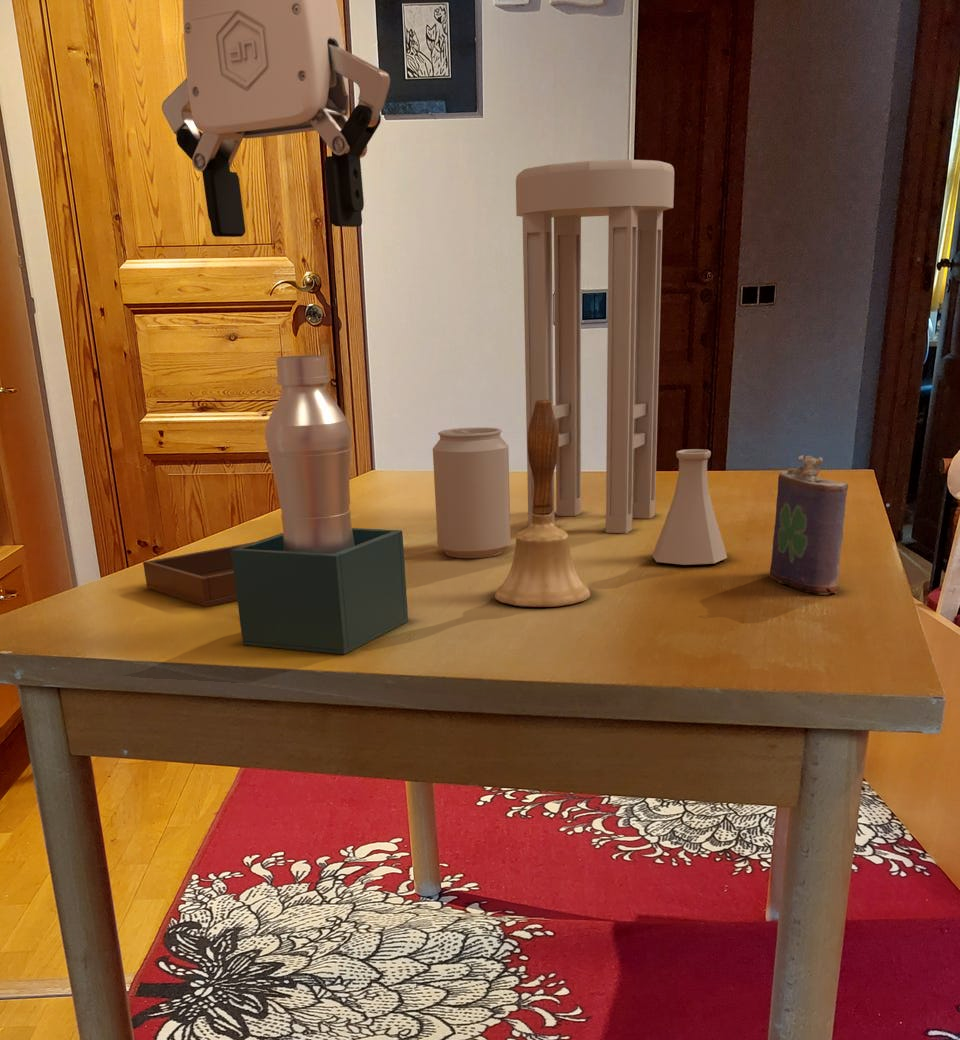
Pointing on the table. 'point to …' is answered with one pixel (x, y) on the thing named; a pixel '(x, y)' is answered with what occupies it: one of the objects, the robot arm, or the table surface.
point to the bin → (321, 593)
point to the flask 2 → (808, 529)
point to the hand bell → (542, 531)
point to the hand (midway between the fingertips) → (286, 231)
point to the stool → (631, 320)
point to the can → (472, 492)
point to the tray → (195, 576)
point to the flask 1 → (691, 517)
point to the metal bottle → (310, 458)
